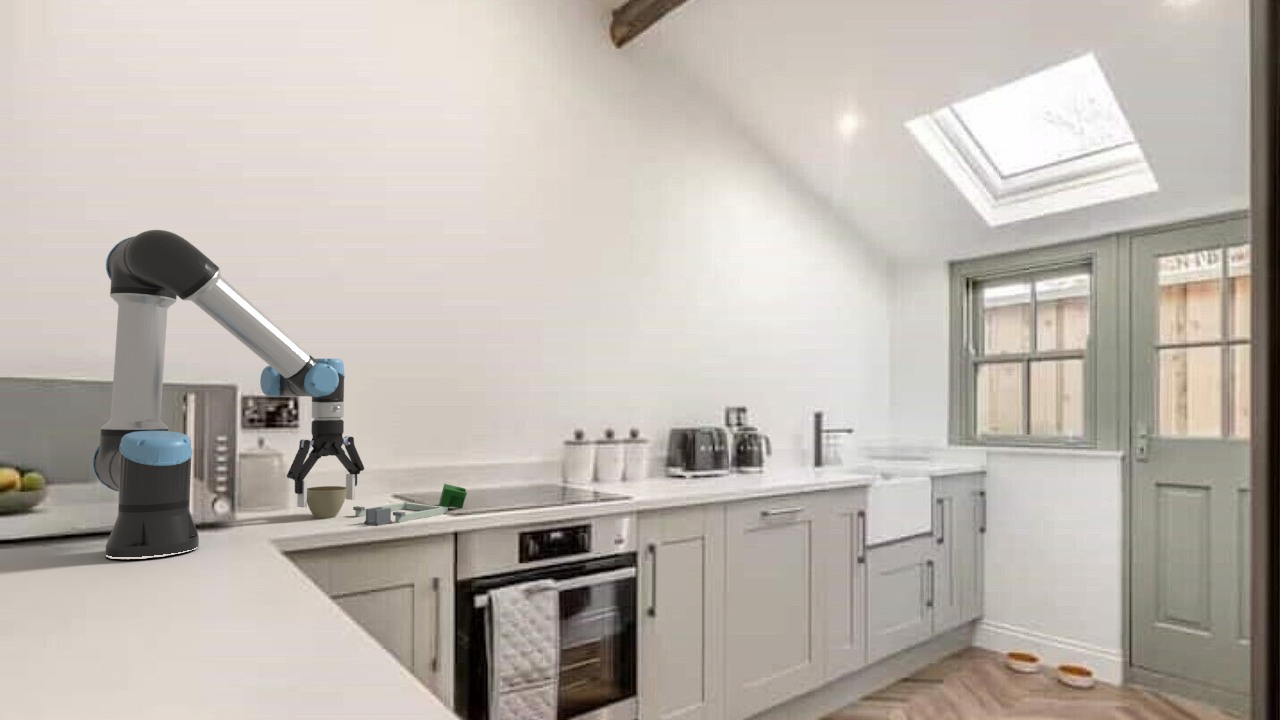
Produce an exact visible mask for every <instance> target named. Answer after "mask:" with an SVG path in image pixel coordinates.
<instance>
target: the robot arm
mask: <svg viewBox="0 0 1280 720" xmlns="http://www.w3.org/2000/svg"><path fill="white" fill-rule="evenodd" d="M105 270H106V274H107V277H108V278H109V280H110V291H109V292H110V293H109V294H110V295H109V297H110V298H111V299H112V300H113V301H114V302H115V303H116V304H117V305H118V307H117V321H116V322H117V323H116V334H115V335H116V338H115V353H114V364H113V381H112V395H111V408H110V409H111V410H110V411H111V412H110V419H109V420H108V421H107V422H106V423H105V424H104V425H102V426H101V427H100V438H99V446H98V447H97V448H96V449H95V451H94V453H93V455H92V459H91V469H92V472H93V473H94V476H95V478H97V479H98V481H99V482H100V483H102V485H103V486H105V487H107V488H108V489H110V490H113V491H116V492H118V505H117V506H118V508H117V509H118V510H117V517H116V519H115V522H114V525H113V527H112V530H111V532H110V535H109V537H108V540H107V541H106V545H105V554H106V555H108V556H112V557H142V556H154V555H163V554H171V553H178V552H183V551H187V550H192V549H194V548H196V547H198V546H199V542H200V540H199V539H200V537H199V534H198V529H197V528H196V525H195V522H194V520H193V516H192V513H191V511H190V510H191V509H190V503H191V502H190V501H191V500H190V499H191V498H190V497H191V496H190V495H191V476H192V475H191V474H192V456H193V448H192V440H191V437H189V436H188V435H187V434H184V433H182V432H178V431H169V427H168V425H166V424H165V423H164V422H163V421H162V418H161V414H162V400H163V399H162V398H163V384H164V383H163V382H164V370H165V369H164V368H165V366H164V365H165V354H166V352H165V351H166V337H167V322H168V309H169V308H170V307H171V306H172V305H174V304H175V303H177V298H178V297H179V298H180V300H182V301H191V302H192V303H194V304H195V305H196V306H198V307H199V308H200V309H201V310H202V311H203V312H205V313H206V314H207V316H209V317H210V318H212V319H213V320H214V321H215V322H217V323H218V324H219V325H220V326H221V327H223V328H224V329H225V330H226V331H228V332H229V333H230V334H231V335H232V336H233V337H235V338H236V339H237V340H239V342H241V343H242V344H243V345H244V346H246V347H247V348H248V349H249V350H250V351H252V352H253V353H254V354H255V355H256V356H257V357H259V358H260V359H261V360H262V361H264V362H265V363H266V364H268V365H267V366H266V367H264V368H263V369H262V371H261V374H260V378H259V379H260V384H259V385H260V389H261V392H262V393H263V395H265V396H266V397H277V398H279V397H311V415H310V416H311V418H312V419H314V420H311V430H310V431H311V435H312V438H311V440H310V439H300V440H299V447H298V450H297V453H296V454H295V457H294V460H293V461H292V463H291V465H290V468H289V470H288V472H287V474H286V478H287V479H291V480H293V481H294V493H295V494H297V500H296V501H297V503H296V507H297V508H307V507H308V504H307V488H308V480H306V479H305V478H306V477H307V476H308V474H309V473H310V472H311V470H312V468H314V466H315V464H316V463H317V462H318V461H319V459H321V458H322V457H328V456H331V457H332V456H335V457H336V458H337V459H338V461H339V462H340V463H341V465H342V466H343V467H344V468H345V470H346V471H347V472H348V473H346V474H345V487H347V494H346V498H345V500H349V501H350V500H351V501H353V500H355V499H356V496H355V495H356V487H357V486H358V475H359V474H360V473H361V471H364V470H365V467H364V464H363V462H362V460H361V457H360V454H359V453H358V450H357V448H356V445H355V439H354V436H343V434H344V431H345V430H344V428H345V427H344V426H345V425H344V420H343V419H342V418H344V415H345V412H344V409H345V408H344V407H345V406H344V405H345V401H344V399H345V395H344V394H345V377H346V375H345V366H344V361H343V360H342V359H340V358H314V356H312V355H311V354H310V353H308V352H307V350H305V349H304V348H303V347H302V346H301V345H299V344H298V343H297V342H296V341H295V340H294V339H292V337H290V336H289V335H288V334H287V333H286V332H285V331H284V330H282V329H281V328H280V327H279V326H278V325H277V324H276V323H274V321H272V320H271V319H270V318H269V317H268V316H267V315H265V314H264V312H262V311H261V310H260V309H259V308H258V307H257V306H255V305H254V304H253V303H252V302H251V301H249V299H247V297H245V296H244V295H243V294H242V293H241V292H239V290H238V289H236V288H235V287H234V286H233V285H232V284H231V283H229V281H227V280H226V279H225V278H224V277H222V275H221V267H219V266H218V265H217V264H216V263H214V262H213V261H212V260H211V259H210V258H209V257H208V256H207V255H206V254H204V253H203V252H202V251H201V250H200V249H198V248H197V247H196V246H195V245H193V244H192V243H191V242H189V241H188V240H187V239H185V238H184V237H182V236H180V235H178V234H176V233H174V232H172V231H168V230H164V229H163V230H162V229H149V230H146V231H143V232H140V233H138V234H137V235H134V236H130V237H126V238H125V239H122V240H121V241H119V242H118V243H116V244H115V245H114V247H112V249H111V250H110V251H109V253H108V254H107V256H106V260H105ZM342 446H344V448H345V450H344V449H343V448H342ZM311 448H312V450H311V451H310V449H311ZM309 451H310V452H309ZM346 453H347V454H346ZM307 456H308V457H307ZM199 547H200V546H199ZM199 547H198V548H199ZM105 554H104V555H105Z"/></svg>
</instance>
